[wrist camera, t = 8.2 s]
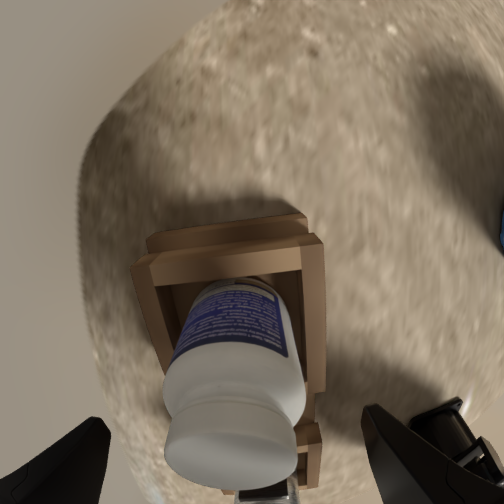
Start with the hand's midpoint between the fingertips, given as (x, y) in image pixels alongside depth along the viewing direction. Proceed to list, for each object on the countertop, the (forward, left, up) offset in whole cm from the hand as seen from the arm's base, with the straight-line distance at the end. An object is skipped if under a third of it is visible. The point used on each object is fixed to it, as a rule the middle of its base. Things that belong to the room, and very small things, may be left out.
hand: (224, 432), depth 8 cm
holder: (0, +7, -9) cm, 12 cm away
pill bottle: (0, 0, -8) cm, 8 cm away
